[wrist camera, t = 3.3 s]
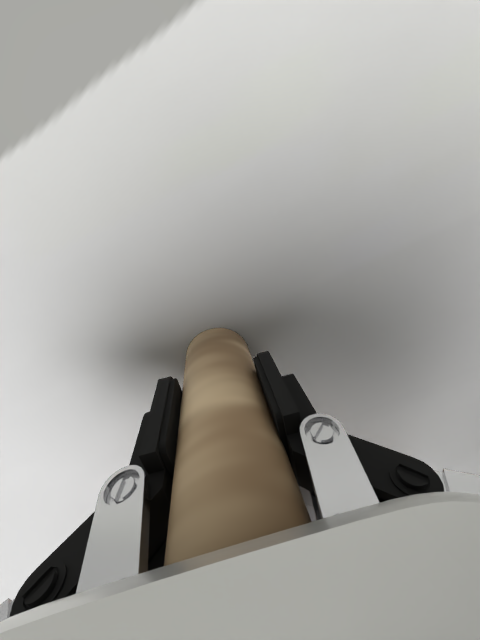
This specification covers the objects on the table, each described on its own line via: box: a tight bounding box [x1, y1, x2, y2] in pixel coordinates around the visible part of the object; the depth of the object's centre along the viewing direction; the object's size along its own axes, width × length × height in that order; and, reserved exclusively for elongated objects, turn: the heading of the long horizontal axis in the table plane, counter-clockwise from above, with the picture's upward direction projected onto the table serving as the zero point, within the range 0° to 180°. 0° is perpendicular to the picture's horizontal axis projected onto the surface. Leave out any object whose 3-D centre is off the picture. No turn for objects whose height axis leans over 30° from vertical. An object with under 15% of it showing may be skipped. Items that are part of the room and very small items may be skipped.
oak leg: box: [164, 328, 312, 566], centre depth 9 cm, size 4×4×12 cm
